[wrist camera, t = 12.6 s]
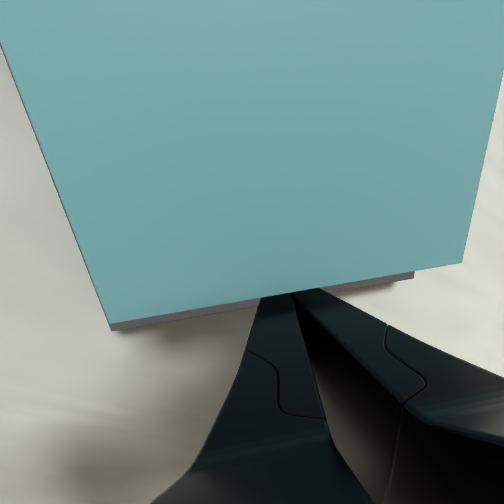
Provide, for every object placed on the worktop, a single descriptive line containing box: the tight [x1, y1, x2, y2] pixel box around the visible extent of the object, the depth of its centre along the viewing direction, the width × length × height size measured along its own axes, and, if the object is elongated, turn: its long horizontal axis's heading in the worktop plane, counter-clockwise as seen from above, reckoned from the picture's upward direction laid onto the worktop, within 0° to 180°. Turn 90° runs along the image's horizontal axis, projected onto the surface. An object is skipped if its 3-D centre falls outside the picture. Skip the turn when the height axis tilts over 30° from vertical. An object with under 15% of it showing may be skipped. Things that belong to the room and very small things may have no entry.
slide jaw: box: [0, 0, 504, 324], centre depth 7 cm, size 8×8×4 cm
